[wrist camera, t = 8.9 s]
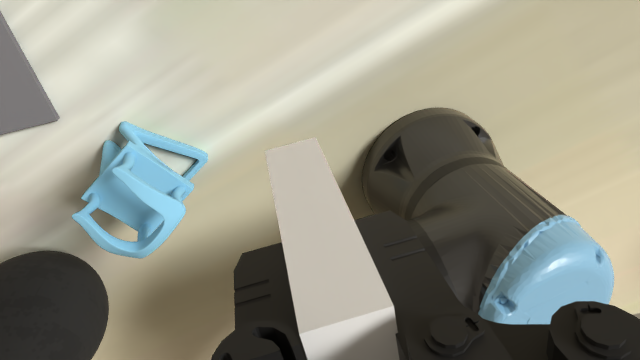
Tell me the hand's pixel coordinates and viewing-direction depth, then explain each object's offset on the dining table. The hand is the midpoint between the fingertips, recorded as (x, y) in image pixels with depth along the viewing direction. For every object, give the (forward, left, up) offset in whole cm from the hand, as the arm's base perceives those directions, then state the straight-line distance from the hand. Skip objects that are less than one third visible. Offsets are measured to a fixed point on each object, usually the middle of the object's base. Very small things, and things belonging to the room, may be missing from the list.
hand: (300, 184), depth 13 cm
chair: (-10, +13, -30) cm, 34 cm away
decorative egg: (-20, +27, -30) cm, 45 cm away
